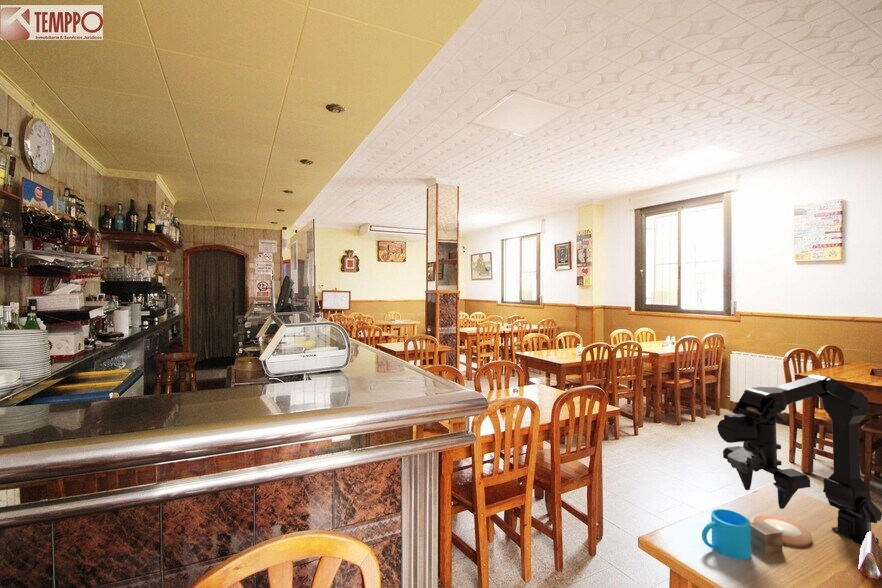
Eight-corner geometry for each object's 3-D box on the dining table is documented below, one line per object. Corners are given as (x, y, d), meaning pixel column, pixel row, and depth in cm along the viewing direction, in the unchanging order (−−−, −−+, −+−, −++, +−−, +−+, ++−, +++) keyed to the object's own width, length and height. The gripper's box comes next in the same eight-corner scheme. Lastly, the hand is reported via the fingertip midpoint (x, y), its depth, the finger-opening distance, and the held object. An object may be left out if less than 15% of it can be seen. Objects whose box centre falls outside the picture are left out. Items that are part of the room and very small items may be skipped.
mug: (732, 537, 106) (731, 507, 106) (759, 557, 98) (758, 525, 98) (691, 541, 105) (690, 511, 105) (715, 562, 97) (714, 530, 97)
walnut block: (763, 539, 105) (763, 521, 105) (782, 551, 100) (782, 532, 100) (747, 541, 104) (746, 523, 104) (765, 554, 100) (765, 534, 99)
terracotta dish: (778, 517, 115) (778, 512, 115) (824, 543, 103) (824, 538, 103) (742, 522, 113) (742, 517, 113) (785, 549, 101) (785, 544, 101)
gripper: (705, 429, 110) (706, 484, 110) (771, 457, 91) (773, 523, 91) (739, 425, 111) (741, 480, 111) (811, 452, 93) (813, 517, 93)
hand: (763, 498), depth 102 cm, fingers open, 9 cm apart
